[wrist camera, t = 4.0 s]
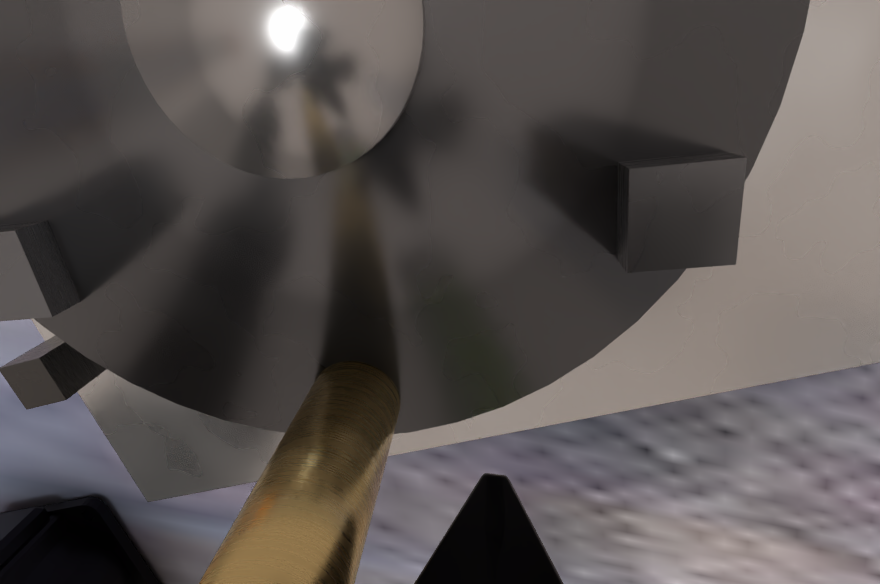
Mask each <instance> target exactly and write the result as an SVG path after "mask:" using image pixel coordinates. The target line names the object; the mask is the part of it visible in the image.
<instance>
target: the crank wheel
mask: <svg viewBox="0 0 880 584" xmlns="http://www.w3.org/2000/svg"><path fill="white" fill-rule="evenodd" d="M809 4H810V0H0V321H8V320H21V319H35V320H36V321H37V322H38V323H40V324H41V325H42V326H43V327H44V328H46V329H47V330H49V331H50V332H51V333H53V334H54V335H56V336H57V337H59V338H60V339H61V340H63V341H64V342H66V343H67V344H68V345H70V346H71V347H73V348H74V349H75V350H77V351H78V352H80V353H81V354H82V355H84V356H85V357H87V358H88V359H90V360H92V361H94V362H95V363H97V364H99V365H101V366H102V367H104V368H106V369H107V370H109V371H111V372H113V373H114V374H116V375H118V376H120V377H121V378H123V379H125V380H127V381H128V382H130V383H132V384H134V385H136V386H138V387H140V388H143V389H145V390H147V391H149V392H151V393H154V394H156V395H158V396H160V397H162V398H165V399H167V400H169V401H171V402H173V403H176V404H178V405H181V406H184V407H187V408H190V409H193V410H196V411H199V412H201V413H204V414H207V415H210V416H213V417H216V418H219V419H222V420H226V421H230V422H234V423H239V424H243V425H247V426H252V427H256V428H260V429H265V430H269V431H277V432H285V434H284V436H283V438H282V440H281V441H280V443H279V445H278V447H277V448H276V450H275V452H274V454H273V455H272V457H271V459H270V461H269V462H268V464H267V466H266V467H265V469H264V471H263V473H262V474H261V476H260V478H259V480H258V481H257V483H256V485H255V487H254V488H253V490H252V492H251V494H250V495H249V497H248V499H247V501H246V502H245V504H244V506H243V508H242V509H241V511H240V513H239V515H238V516H237V518H236V520H235V522H234V523H233V525H232V527H231V529H230V530H229V532H228V534H227V536H226V537H225V539H224V541H223V542H222V544H221V546H220V548H219V549H218V551H217V553H216V555H215V556H214V558H213V560H212V562H211V563H210V565H209V567H208V569H207V570H206V572H205V574H204V576H203V577H202V579H201V581H200V583H199V584H354V582H355V578H356V574H357V571H358V567H359V563H360V559H361V555H362V552H363V548H364V544H365V540H366V537H367V533H368V529H369V525H370V521H371V518H372V514H373V510H374V506H375V502H376V499H377V495H378V491H379V487H380V483H381V480H382V476H383V472H384V468H385V464H386V461H387V457H388V453H389V449H390V445H391V442H392V438H393V434H399V433H409V432H415V431H419V430H424V429H429V428H433V427H438V426H443V425H447V424H452V423H457V422H460V421H463V420H466V419H469V418H472V417H475V416H477V415H480V414H483V413H486V412H489V411H492V410H495V409H498V408H501V407H504V406H506V405H508V404H510V403H512V402H514V401H516V400H519V399H521V398H523V397H525V396H527V395H529V394H531V393H533V392H535V391H537V390H540V389H542V388H544V387H546V386H548V385H550V384H551V383H553V382H555V381H556V380H558V379H559V378H561V377H563V376H564V375H566V374H567V373H569V372H570V371H572V370H574V369H575V368H577V367H578V366H580V365H582V364H583V363H585V362H586V361H588V360H590V359H591V358H593V357H594V356H595V355H597V354H598V353H599V352H600V351H602V350H603V349H604V348H605V347H607V346H608V345H609V344H610V343H611V342H613V341H614V340H615V339H616V338H618V337H619V336H620V335H621V334H623V333H624V332H625V331H626V330H628V329H629V328H630V327H631V326H632V325H634V324H635V323H636V322H637V321H638V320H639V319H640V318H641V317H642V316H643V315H644V314H645V313H646V312H647V311H648V310H649V309H650V308H651V307H652V306H653V305H654V304H655V303H656V302H657V301H658V300H659V299H660V298H661V297H662V296H663V295H664V294H665V293H666V291H667V290H668V289H669V288H670V287H671V286H672V285H673V284H674V283H675V282H676V281H677V280H678V279H679V278H680V276H681V275H682V274H683V273H684V271H685V270H686V269H687V268H700V267H713V266H726V265H736V260H737V250H738V241H739V231H740V221H741V212H742V202H743V192H744V183H745V181H746V179H747V177H748V176H749V174H750V172H751V170H752V168H753V166H754V164H755V161H756V159H757V157H758V155H759V153H760V150H761V148H762V146H763V144H764V141H765V139H766V137H767V135H768V132H769V130H770V128H771V126H772V124H773V121H774V119H775V117H776V115H777V112H778V110H779V108H780V106H781V103H782V99H783V96H784V93H785V90H786V87H787V84H788V81H789V77H790V74H791V71H792V68H793V65H794V62H795V58H796V55H797V52H798V49H799V46H800V43H801V40H802V36H803V33H804V29H805V24H806V19H807V14H808V9H809Z"/></svg>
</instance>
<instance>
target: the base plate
mask: <svg viewBox="0 0 880 584" xmlns="http://www.w3.org/2000/svg"><path fill="white" fill-rule="evenodd" d="M31 320H32V321H33V323H34V324H35V326H36V327H37V329H38V331H39V332H40V334H41V335H42V337H43V338H44V340H45V342H43V343H41V344H40V345H38V346H36V347H35V348H33V349H31V350H29V351H28V352H26V353H24V354H23V355H21V356H19V357H18V358H16V359H14V360H12V361H11V362H9V363H7V364H6V365H4V366H2V367H0V372H1V373H2V375H3V376H4V377H5V379H6V380H7V382H8V383H9V385H10V386H11V388H12V389H13V391H14V392H15V393H16V395H17V396H18V398H19V399H20V401H21V402H22V404H23V405H24V407H25V408H26V409H31V408H35V407H39V406H43V405H47V404H51V403H55V402H60V401H64V400H67V399H68V398H69V397H71V396H72V395H73V394H75V393H76V392H78V393H79V395H80V397H81V398H82V400H83V401H84V403H85V404H86V406H87V408H88V409H89V411H90V412H91V414H92V415H93V417H94V418H95V420H96V422H97V423H98V425H99V426H100V428H101V429H102V431H103V433H104V434H105V436H106V437H107V439H108V440H109V442H110V444H111V445H112V447H113V448H114V450H115V451H116V453H117V455H118V456H119V458H120V459H121V461H122V462H123V464H124V466H125V467H126V469H127V470H128V472H129V473H130V475H131V477H132V478H133V480H134V481H135V483H136V484H137V486H138V488H139V489H140V491H141V492H142V494H143V495H144V497H145V499H146V500H147V502H151V501H156V500H162V499H167V498H172V497H177V496H183V495H188V494H193V493H198V492H204V491H209V490H214V489H219V488H225V487H230V486H235V485H240V484H245V483H251V482H256V481H258V480H259V478H260V476H261V474H262V473H263V471H264V469H265V467H266V466H267V464H268V462H269V461H270V459H271V457H272V455H273V454H274V452H275V450H276V448H277V447H278V445H279V443H280V441H281V440H282V438H283V436H284V434H285V432H277V431H269V430H265V429H260V428H256V427H252V426H247V425H243V424H239V423H234V422H230V421H226V420H222V419H219V418H216V417H213V416H210V415H207V414H204V413H201V412H199V411H196V410H193V409H190V408H187V407H184V406H181V405H178V404H176V403H173V402H171V401H169V400H167V399H165V398H162V397H160V396H158V395H156V394H154V393H151V392H149V391H147V390H145V389H143V388H140V387H138V386H136V385H134V384H132V383H130V382H128V381H127V380H125V379H123V378H121V377H120V376H118V375H116V374H114V373H113V372H111V371H109V370H107V369H106V368H104V367H102V366H101V365H99V364H97V363H95V362H94V361H92V360H90V359H88V358H87V357H85V356H84V355H82V354H81V353H80V352H78V351H77V350H75V349H74V348H73V347H71V346H70V345H68V344H67V343H66V342H64V341H63V340H61V339H60V338H59V337H57V336H56V335H54V334H53V333H51V332H50V331H49V330H47V329H46V328H44V327H43V326H42V325H41V324H40V323H38V322H37V321H36V320H35V319H31ZM879 362H880V0H810V4H809V9H808V14H807V19H806V24H805V29H804V33H803V36H802V40H801V43H800V46H799V49H798V52H797V55H796V58H795V62H794V65H793V68H792V71H791V74H790V77H789V81H788V84H787V87H786V90H785V93H784V96H783V99H782V103H781V106H780V108H779V110H778V112H777V115H776V117H775V119H774V121H773V124H772V126H771V128H770V130H769V132H768V135H767V137H766V139H765V141H764V144H763V146H762V148H761V150H760V153H759V155H758V157H757V159H756V161H755V164H754V166H753V168H752V170H751V172H750V174H749V176H748V177H747V179H746V181H745V183H744V192H743V202H742V212H741V221H740V231H739V241H738V250H737V260H736V265H726V266H713V267H700V268H687V269H686V270H685V271H684V273H683V274H682V275H681V276H680V278H679V279H678V280H677V281H676V282H675V283H674V284H673V285H672V286H671V287H670V288H669V289H668V290H667V291H666V293H665V294H664V295H663V296H662V297H661V298H660V299H659V300H658V301H657V302H656V303H655V304H654V305H653V306H652V307H651V308H650V309H649V310H648V311H647V312H646V313H645V314H644V315H643V316H642V317H641V318H640V319H639V320H638V321H637V322H636V323H635V324H634V325H632V326H631V327H630V328H629V329H628V330H626V331H625V332H624V333H623V334H621V335H620V336H619V337H618V338H616V339H615V340H614V341H613V342H611V343H610V344H609V345H608V346H607V347H605V348H604V349H603V350H602V351H600V352H599V353H598V354H597V355H595V356H594V357H593V358H591V359H590V360H588V361H586V362H585V363H583V364H582V365H580V366H578V367H577V368H575V369H574V370H572V371H570V372H569V373H567V374H566V375H564V376H563V377H561V378H559V379H558V380H556V381H555V382H553V383H551V384H550V385H548V386H546V387H544V388H542V389H540V390H537V391H535V392H533V393H531V394H529V395H527V396H525V397H523V398H521V399H519V400H516V401H514V402H512V403H510V404H508V405H506V406H504V407H501V408H498V409H495V410H492V411H489V412H486V413H483V414H480V415H477V416H475V417H472V418H469V419H466V420H463V421H460V422H457V423H452V424H447V425H443V426H438V427H433V428H429V429H424V430H419V431H415V432H409V433H399V434H393V438H392V442H391V445H390V449H389V453H388V456H392V455H397V454H402V453H408V452H413V451H418V450H423V449H429V448H434V447H439V446H444V445H450V444H455V443H460V442H465V441H470V440H476V439H481V438H486V437H491V436H497V435H502V434H507V433H512V432H518V431H523V430H528V429H533V428H538V427H544V426H549V425H554V424H559V423H565V422H570V421H575V420H580V419H586V418H591V417H596V416H601V415H607V414H612V413H617V412H622V411H627V410H633V409H638V408H643V407H648V406H654V405H659V404H664V403H669V402H675V401H680V400H685V399H690V398H695V397H701V396H706V395H711V394H716V393H722V392H727V391H732V390H737V389H743V388H748V387H753V386H758V385H764V384H769V383H774V382H779V381H784V380H790V379H795V378H800V377H805V376H811V375H816V374H821V373H826V372H832V371H837V370H842V369H847V368H852V367H858V366H863V365H868V364H873V363H879Z"/></svg>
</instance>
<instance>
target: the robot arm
mask: <svg viewBox="0 0 880 584" xmlns="http://www.w3.org/2000/svg"><path fill="white" fill-rule="evenodd" d="M0 584H159V583H158V581H157V580H156V578H155V577H154V575H153V574H152V572H151V571H150V569H149V568H148V566H147V565H146V563H145V562H144V560H143V559H142V557H141V556H140V554H139V553H138V551H137V550H136V549H135V547H134V546H133V544H132V543H131V541H130V540H129V538H128V537H127V535H126V534H125V532H124V531H123V529H122V528H121V526H120V525H119V523H118V522H117V520H116V519H115V517H114V516H113V514H112V513H111V512H110V510H109V509H108V507H107V506H106V504H105V503H104V502H103V501H101V500H100V499H97V498H94V497H88V498H83V499H78V500H73V501H68V502H63V503H58V504H53V505H48V506H43V507H32V508H27V509H22V510H17V511H12V512H6V513H1V514H0ZM414 584H563V582H562V580H561V578H560V576H559V574H558V572H557V570H556V568H555V566H554V565H553V563H552V561H551V559H550V557H549V555H548V553H547V551H546V549H545V547H544V545H543V543H542V542H541V540H540V538H539V536H538V534H537V532H536V530H535V528H534V526H533V524H532V522H531V520H530V519H529V517H528V515H527V513H526V511H525V509H524V507H523V505H522V503H521V501H520V499H519V497H518V496H517V494H516V492H515V490H514V488H513V486H512V484H511V482H510V480H509V479H508V477H507V476H505V475H498V474H489V473H485V474H483V476H482V477H481V478H480V480H479V481H478V483H477V485H476V486H475V488H474V489H473V491H472V493H471V494H470V496H469V497H468V499H467V500H466V502H465V504H464V505H463V507H462V508H461V510H460V512H459V513H458V515H457V516H456V518H455V520H454V521H453V523H452V524H451V526H450V528H449V529H448V531H447V532H446V534H445V536H444V537H443V539H442V540H441V542H440V543H439V545H438V547H437V548H436V550H435V551H434V553H433V555H432V556H431V558H430V559H429V561H428V563H427V564H426V566H425V567H424V569H423V571H422V572H421V574H420V575H419V577H418V579H417V580H416V582H415V583H414Z"/></svg>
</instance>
